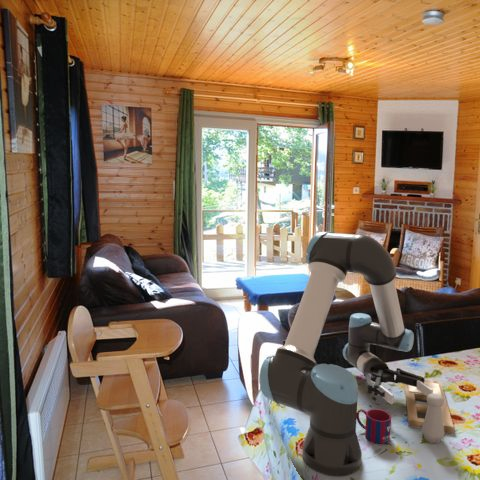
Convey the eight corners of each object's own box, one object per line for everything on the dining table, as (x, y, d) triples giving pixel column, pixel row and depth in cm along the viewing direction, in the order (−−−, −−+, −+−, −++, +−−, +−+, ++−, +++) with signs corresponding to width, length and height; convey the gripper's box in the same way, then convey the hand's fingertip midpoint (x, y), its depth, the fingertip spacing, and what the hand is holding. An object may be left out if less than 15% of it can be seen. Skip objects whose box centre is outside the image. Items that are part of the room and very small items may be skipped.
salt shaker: (416, 435, 126) (419, 392, 125) (433, 432, 128) (436, 389, 126) (431, 447, 121) (434, 402, 119) (448, 443, 123) (451, 399, 121)
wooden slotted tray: (408, 426, 131) (408, 418, 131) (403, 382, 159) (404, 376, 159) (453, 433, 127) (453, 426, 127) (440, 387, 156) (440, 380, 155)
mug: (380, 447, 121) (382, 424, 120) (350, 431, 128) (351, 409, 127) (394, 438, 125) (396, 416, 124) (364, 423, 132) (366, 401, 131)
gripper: (403, 373, 157) (446, 403, 136) (339, 382, 150) (374, 414, 130) (405, 353, 156) (448, 380, 135) (340, 360, 149) (376, 389, 129)
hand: (412, 396), depth 133 cm, fingers open, 13 cm apart
